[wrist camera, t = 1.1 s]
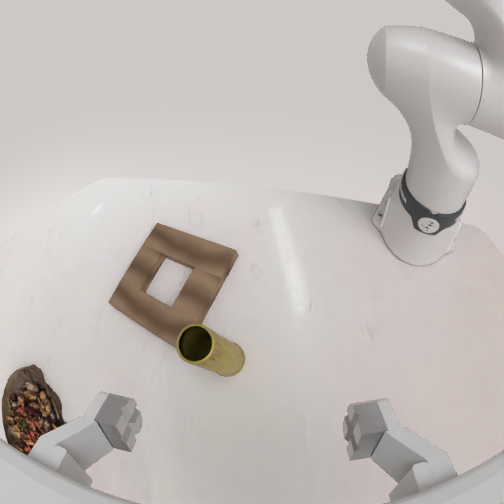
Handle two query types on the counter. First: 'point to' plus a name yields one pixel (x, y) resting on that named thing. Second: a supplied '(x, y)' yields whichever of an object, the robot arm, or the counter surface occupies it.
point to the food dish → (29, 408)
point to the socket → (192, 294)
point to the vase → (209, 350)
